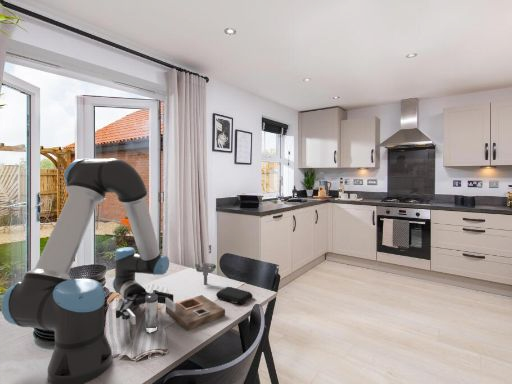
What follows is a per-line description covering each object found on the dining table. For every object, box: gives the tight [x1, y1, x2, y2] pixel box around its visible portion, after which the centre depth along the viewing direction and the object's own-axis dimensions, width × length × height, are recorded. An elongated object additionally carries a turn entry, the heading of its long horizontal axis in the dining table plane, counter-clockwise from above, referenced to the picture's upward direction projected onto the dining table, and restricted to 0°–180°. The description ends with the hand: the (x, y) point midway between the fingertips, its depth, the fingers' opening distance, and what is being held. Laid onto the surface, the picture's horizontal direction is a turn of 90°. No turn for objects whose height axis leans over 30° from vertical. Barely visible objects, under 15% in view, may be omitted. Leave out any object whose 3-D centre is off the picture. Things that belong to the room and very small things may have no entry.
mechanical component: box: [194, 262, 217, 285], centre depth 140 cm, size 3×10×10 cm, turn 78°
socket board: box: [165, 294, 226, 331], centre depth 110 cm, size 16×17×3 cm
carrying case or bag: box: [215, 286, 254, 306], centre depth 124 cm, size 11×3×15 cm
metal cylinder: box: [144, 294, 159, 328], centre depth 98 cm, size 4×4×12 cm
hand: (155, 313), depth 96 cm, fingers open, 13 cm apart
